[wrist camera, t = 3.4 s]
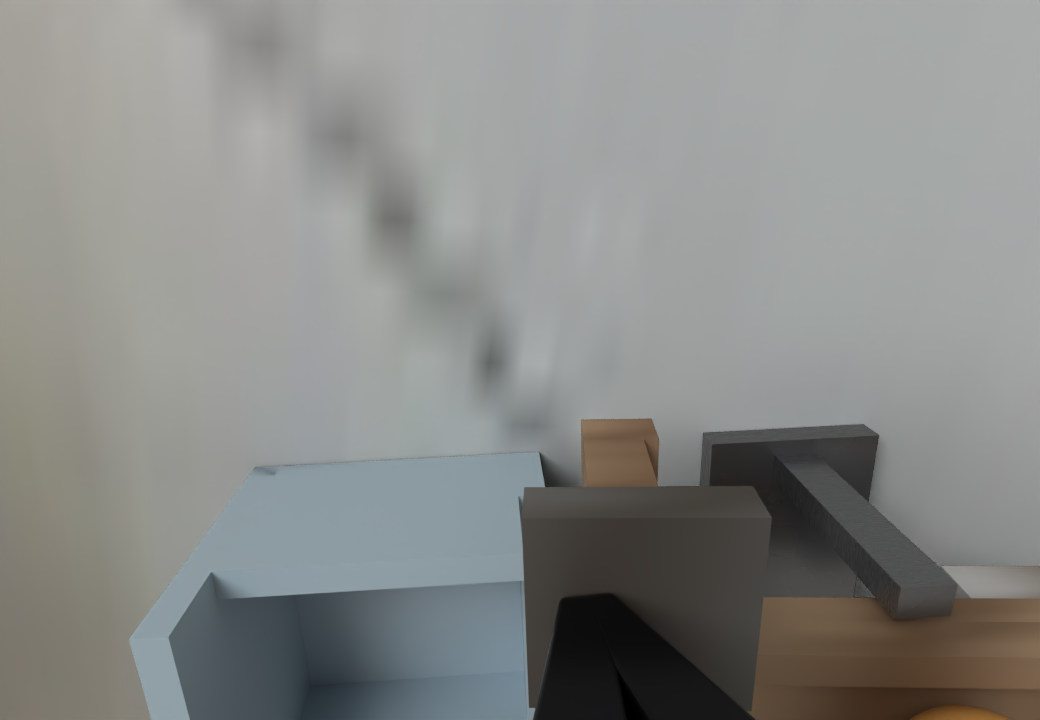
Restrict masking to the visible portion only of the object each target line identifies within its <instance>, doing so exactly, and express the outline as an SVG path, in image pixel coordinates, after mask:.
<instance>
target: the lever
mask: <svg viewBox="0 0 1040 720" xmlns="http://www.w3.org/2000/svg"><path fill="white" fill-rule="evenodd" d="M658 450H659V438H658V435H657V432H656V430H655V427H654V424H653V422H652V419H591V420H581V460H582V487H524V496H523V507H522V542H523V568H524V594H525V619H526V645H527V670H528V696H529V708H536V703H537V699H538V694H539V690H540V685H541V681H542V676H543V672H544V667H545V663H546V659H547V654H548V650H549V645H550V641H551V636H552V632H553V627H554V623H555V619H556V614H557V610H558V605H559V601H560V600H561V599H562V598H563V597H571V596H580V595H590V594H599V593H612V594H614V595H615V596H617V597H618V598H619V599H620V600H621V601H622V602H623V603H625V604H626V605H627V606H628V607H629V608H630V609H631V610H633V611H634V612H635V613H636V614H637V615H638V616H639V617H640V618H642V619H643V620H644V621H645V622H646V623H647V624H648V625H650V626H651V627H652V628H653V629H654V630H655V631H656V632H657V633H659V634H660V635H661V636H662V637H663V638H664V639H665V640H667V641H668V642H669V643H670V644H671V645H672V646H673V647H674V648H676V649H677V650H678V651H679V652H680V653H681V654H682V655H684V656H685V657H686V658H687V659H688V660H689V661H690V662H691V663H693V664H694V665H695V666H696V667H697V668H698V669H699V670H701V671H702V672H703V673H704V674H705V675H706V676H707V677H708V678H710V679H711V680H712V681H713V682H714V683H715V684H716V685H717V686H719V687H720V688H721V689H722V690H723V691H724V692H725V693H727V694H728V695H729V696H730V697H731V698H732V699H733V700H734V701H736V702H737V703H738V704H739V705H740V706H741V707H742V708H744V709H745V710H746V711H747V712H748V713H749V714H750V715H751V716H753V717H754V718H755V719H756V720H910V719H911V718H912V717H914V716H916V715H917V714H919V713H921V712H923V711H926V710H929V709H931V708H935V707H940V706H945V705H964V706H972V707H977V708H982V709H986V710H989V711H992V712H995V713H998V714H1001V715H1003V716H1005V717H1007V718H1010V719H1012V720H1040V566H941V569H942V570H943V571H944V572H945V573H946V574H947V575H948V576H949V577H950V578H951V579H953V580H954V581H955V582H956V583H957V584H958V585H957V590H956V594H955V599H954V603H953V608H952V612H951V616H943V617H928V618H912V619H897V620H895V619H894V618H893V617H892V616H891V614H890V613H889V612H888V611H887V610H886V609H885V608H884V606H883V605H882V604H881V603H880V602H879V601H878V600H877V598H810V597H764V588H765V578H766V569H767V559H768V550H769V540H770V531H771V522H772V517H771V515H770V514H769V512H768V510H767V509H766V507H765V505H764V504H763V502H762V500H761V499H760V497H759V495H758V494H757V492H756V490H755V488H754V487H753V486H660V487H658V483H657V476H658Z"/></svg>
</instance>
